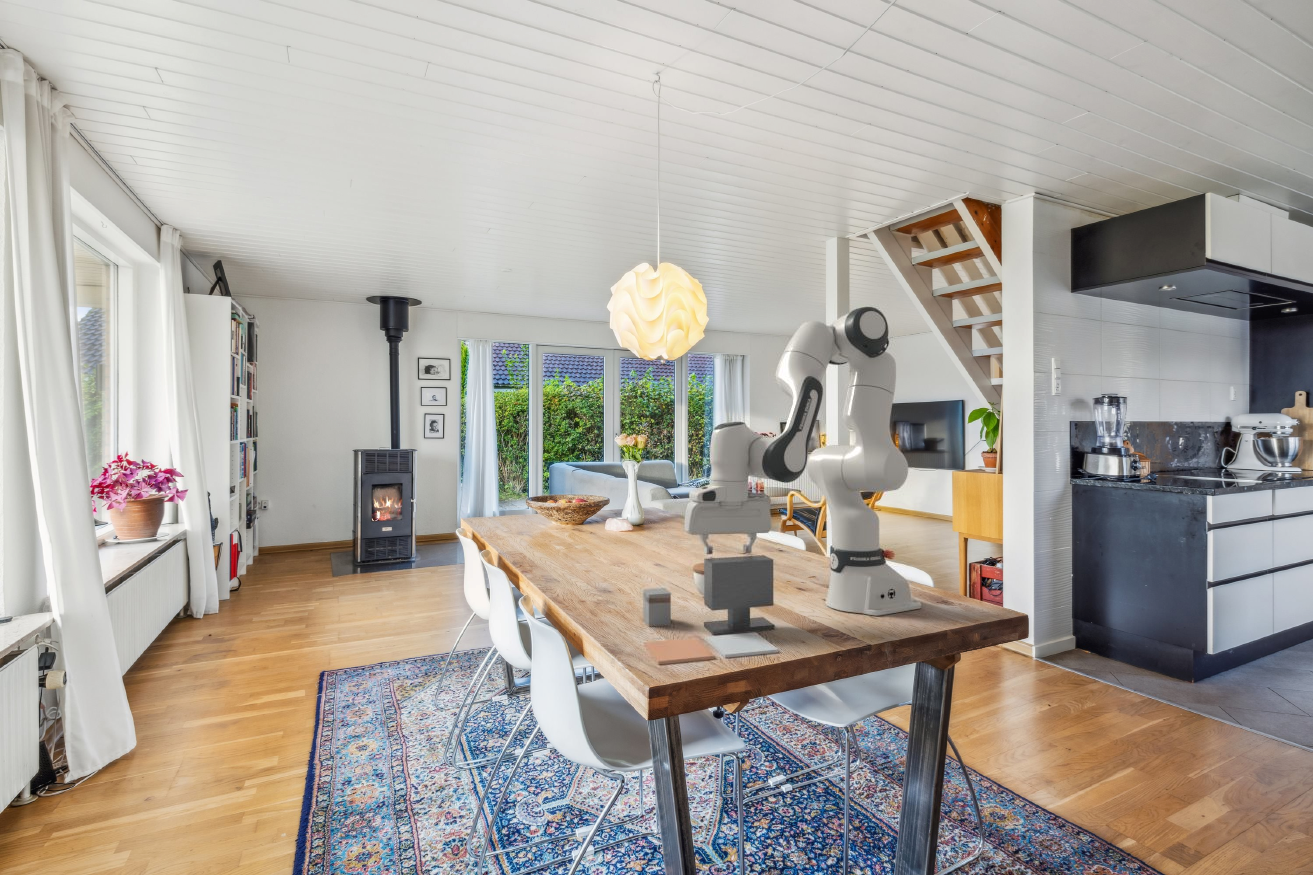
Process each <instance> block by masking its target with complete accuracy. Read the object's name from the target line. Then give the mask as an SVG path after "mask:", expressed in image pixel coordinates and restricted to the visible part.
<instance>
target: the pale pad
mask: <svg viewBox="0 0 1313 875" xmlns="http://www.w3.org/2000/svg"><path fill="white" fill-rule="evenodd" d="M705 641H706V642H707V643H709V645H710V646H712V647H713V649H715V650H716V651H717V652H718V653H719V654H720V655H721V656H722V657H723V658H724V659H728V658H738V657H745V656H757V655H766V654H774V653H775V654H778V653H779V648H777V647H776V646H775V645H773V644H771V643H770V642H769V641H768V640H766V639H765V638H764V637H762V636H761V635H760V634H758V633H757V631H753V632H742V633H731V634H720V635H712V636H710V635H709V636H705Z"/></svg>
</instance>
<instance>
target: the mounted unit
mask: <svg viewBox="0 0 1313 875" xmlns="http://www.w3.org/2000/svg"><path fill="white" fill-rule="evenodd" d="M703 563H704V597H703V598H704V602H703V604H704V605H705V606H706V607H707V608H708V609H709V610H711V611H713V612H715V611H722V610H723V611H724V610H726V611H727V620H726V619H724V620H713V621H704V622H703V628H704V629H706V630H707V631H708V632H709V633H710V634H712V636H720V635H731V634H742V633H753V632H759V631H773V630H774V631H775V624H774V623H773V622H771V621H770V620H768V619H767V618H765V617H763V616H760V617H751V608H763V607H773V606H774V559H773V558H771V557H768V556H766V555H762V554H761V555H745V556H729V557H712V558H709V557H707V558H704V561H703Z"/></svg>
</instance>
